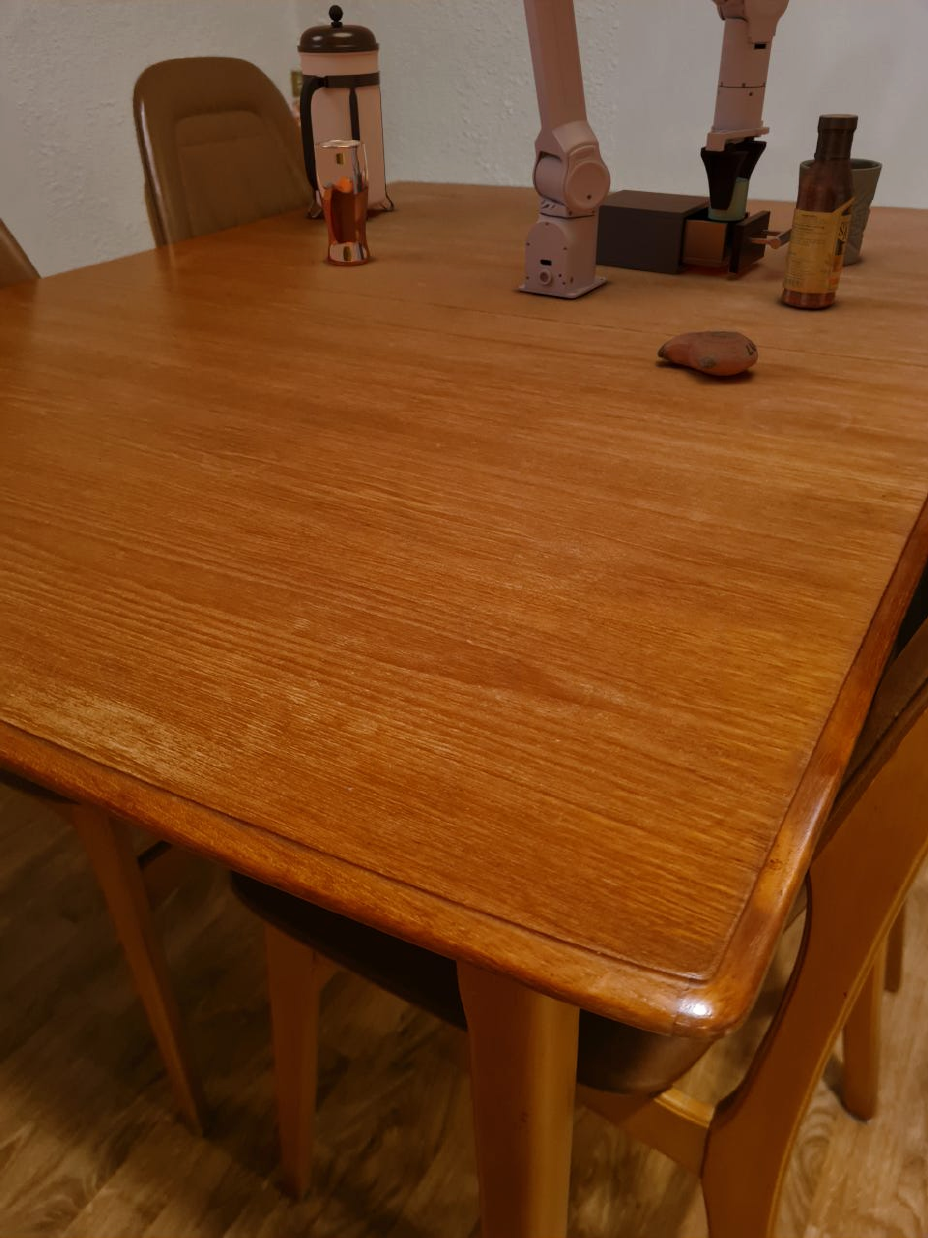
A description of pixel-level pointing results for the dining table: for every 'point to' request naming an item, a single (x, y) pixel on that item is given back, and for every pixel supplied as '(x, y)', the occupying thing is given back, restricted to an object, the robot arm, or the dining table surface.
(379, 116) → the coffee press
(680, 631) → the dining table surface
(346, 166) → the beer glass
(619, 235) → the dark grey cabinet
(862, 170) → the grey tapered cup
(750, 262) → the drawer
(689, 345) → the sweet potato
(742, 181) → the jar
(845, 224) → the sauce bottle
